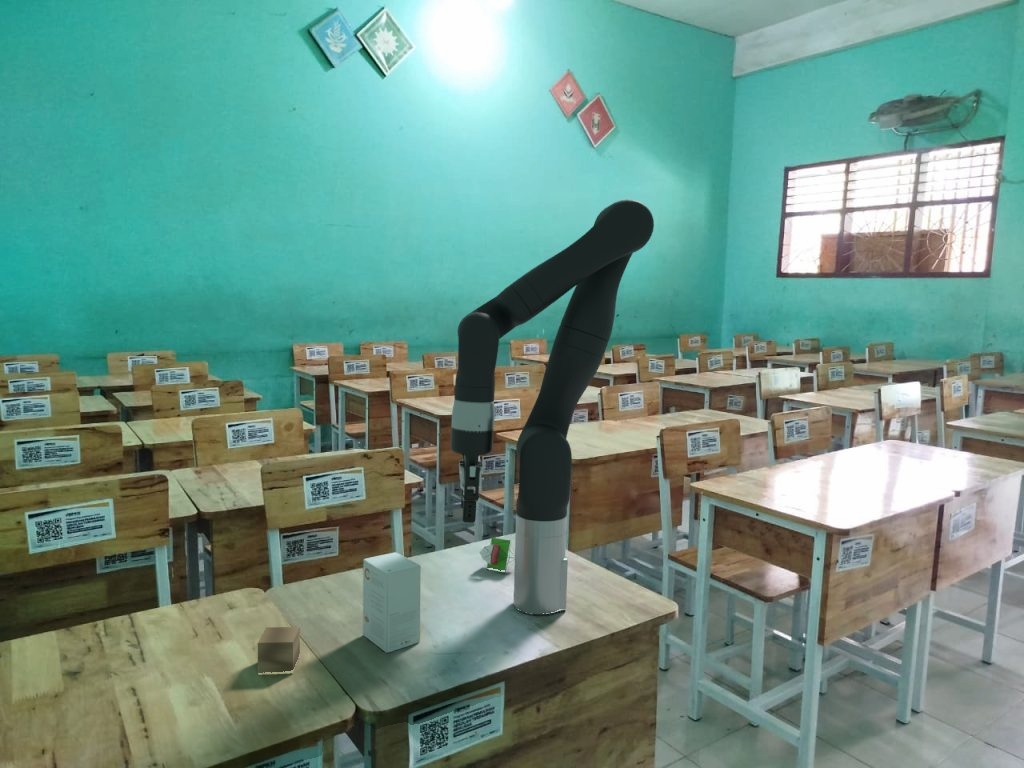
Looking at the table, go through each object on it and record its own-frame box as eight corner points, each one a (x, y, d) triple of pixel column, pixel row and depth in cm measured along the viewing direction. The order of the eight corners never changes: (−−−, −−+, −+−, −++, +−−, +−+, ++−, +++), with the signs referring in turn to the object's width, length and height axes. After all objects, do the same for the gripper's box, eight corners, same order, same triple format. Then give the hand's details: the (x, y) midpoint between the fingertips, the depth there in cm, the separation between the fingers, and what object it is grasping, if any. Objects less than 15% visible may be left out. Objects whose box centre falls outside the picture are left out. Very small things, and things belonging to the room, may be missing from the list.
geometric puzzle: (494, 549, 153) (484, 527, 148) (523, 554, 150) (515, 531, 145) (482, 578, 148) (472, 555, 143) (512, 583, 146) (503, 561, 141)
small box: (420, 642, 114) (421, 565, 113) (386, 654, 110) (386, 573, 109) (395, 625, 121) (396, 550, 119) (361, 635, 117) (362, 558, 115)
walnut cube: (299, 658, 109) (299, 626, 108) (293, 674, 104) (293, 642, 103) (266, 658, 108) (266, 627, 108) (258, 675, 103) (257, 642, 103)
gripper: (497, 433, 118) (491, 527, 120) (490, 420, 132) (485, 504, 134) (452, 431, 118) (447, 526, 119) (450, 418, 132) (446, 503, 133)
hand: (467, 514), depth 127 cm, fingers open, 8 cm apart
